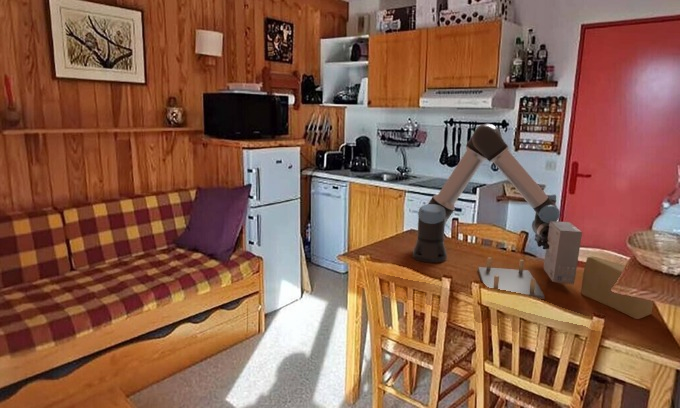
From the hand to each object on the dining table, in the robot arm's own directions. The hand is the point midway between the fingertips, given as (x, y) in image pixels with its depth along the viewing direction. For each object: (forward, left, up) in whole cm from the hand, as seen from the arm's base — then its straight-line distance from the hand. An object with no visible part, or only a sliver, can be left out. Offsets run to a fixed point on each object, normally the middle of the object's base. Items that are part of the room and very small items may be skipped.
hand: (564, 251), depth 169 cm
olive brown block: (+14, -11, -15) cm, 24 cm away
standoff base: (-18, +1, -15) cm, 24 cm away
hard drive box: (0, +3, -11) cm, 12 cm away
